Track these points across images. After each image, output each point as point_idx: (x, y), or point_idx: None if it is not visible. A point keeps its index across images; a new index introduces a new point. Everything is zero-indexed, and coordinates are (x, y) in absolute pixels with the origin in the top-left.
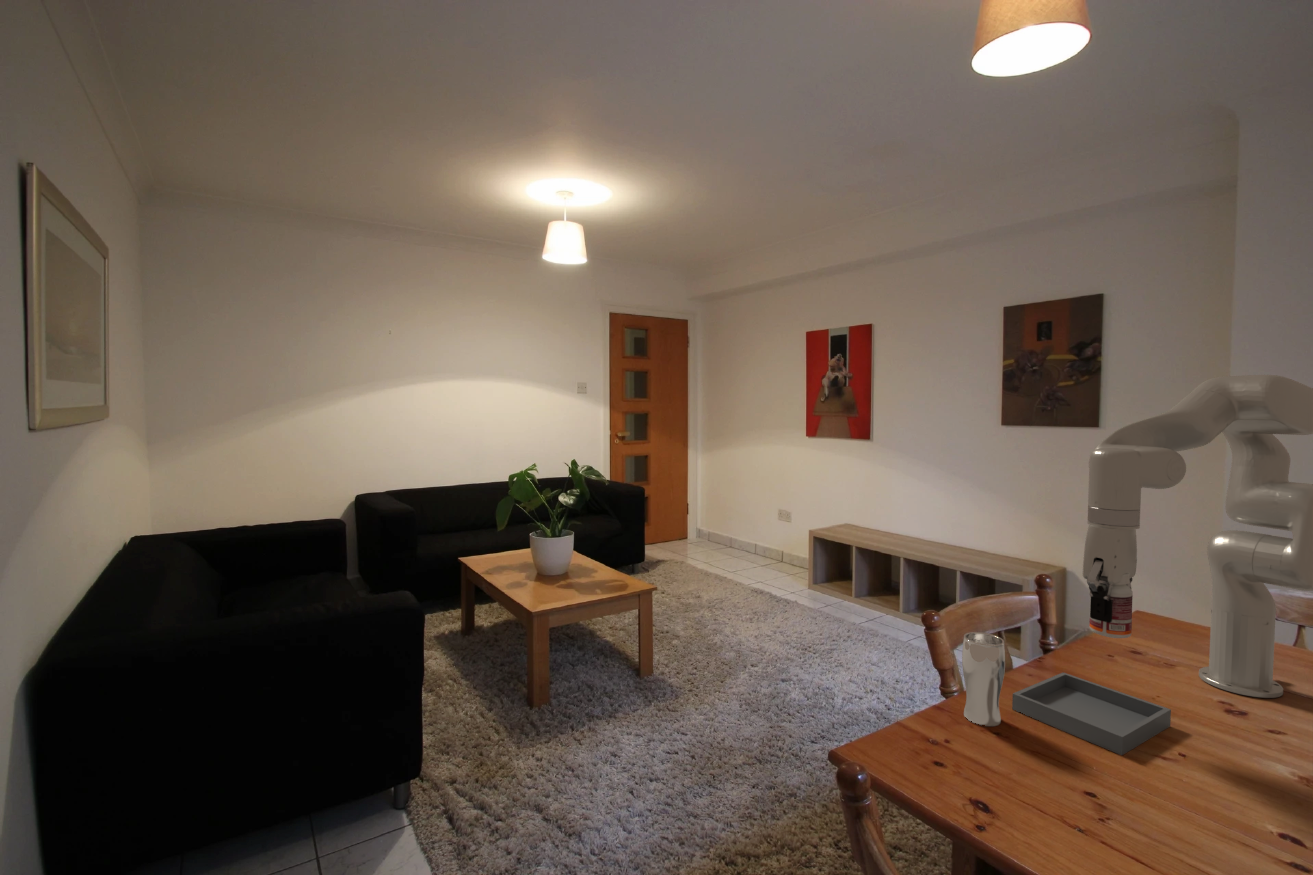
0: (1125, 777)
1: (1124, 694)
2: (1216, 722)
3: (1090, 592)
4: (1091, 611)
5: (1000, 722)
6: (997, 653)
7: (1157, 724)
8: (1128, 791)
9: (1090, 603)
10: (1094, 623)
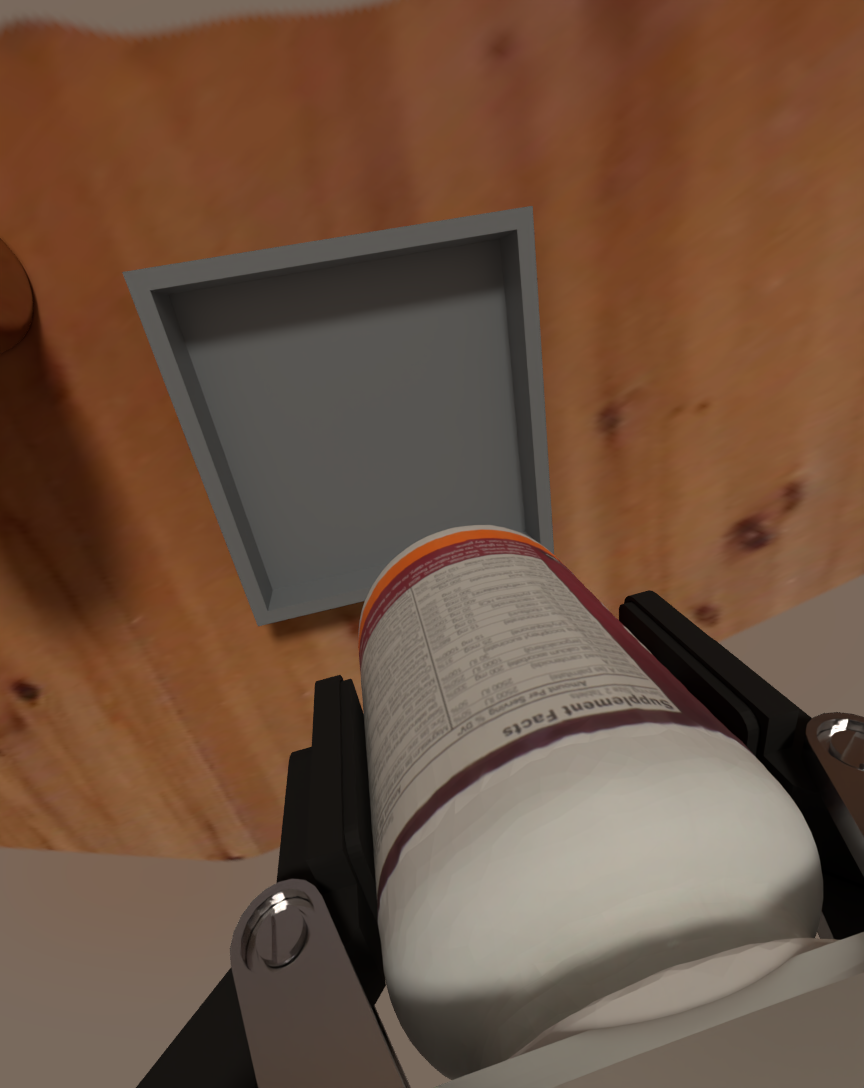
0: (181, 663)
1: (538, 445)
2: (653, 554)
3: (234, 970)
4: (316, 722)
5: (11, 347)
6: None
7: None
8: (135, 699)
9: (310, 776)
10: (361, 644)
